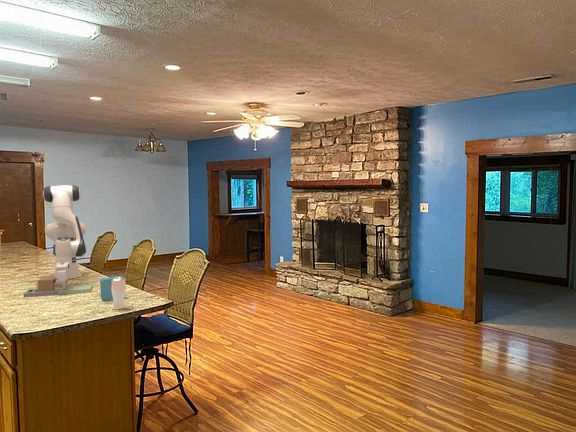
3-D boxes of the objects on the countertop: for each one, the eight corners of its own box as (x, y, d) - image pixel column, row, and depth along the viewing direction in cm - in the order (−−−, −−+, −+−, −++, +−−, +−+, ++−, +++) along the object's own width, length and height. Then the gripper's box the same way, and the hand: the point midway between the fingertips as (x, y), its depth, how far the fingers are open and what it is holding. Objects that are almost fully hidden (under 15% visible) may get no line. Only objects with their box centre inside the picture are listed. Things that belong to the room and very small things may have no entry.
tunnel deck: (29, 292, 269) (28, 277, 268) (92, 287, 280) (91, 274, 279) (23, 297, 256) (23, 282, 256) (90, 292, 267) (89, 277, 267)
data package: (122, 296, 256) (122, 275, 255) (125, 298, 252) (124, 277, 252) (100, 299, 249) (100, 278, 248) (103, 301, 245) (102, 279, 244)
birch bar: (38, 289, 266) (38, 283, 266) (67, 287, 271) (67, 281, 271) (36, 291, 262) (36, 284, 262) (66, 289, 267) (66, 282, 267)
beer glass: (128, 306, 234) (127, 277, 234) (123, 309, 227) (122, 280, 227) (114, 306, 234) (113, 277, 233) (109, 309, 227) (108, 280, 226)
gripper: (61, 261, 277) (61, 284, 278) (55, 267, 257) (55, 291, 258) (72, 261, 279) (73, 283, 280) (67, 266, 259) (67, 290, 260)
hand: (64, 287), depth 269 cm, fingers closed on birch bar, 4 cm apart
